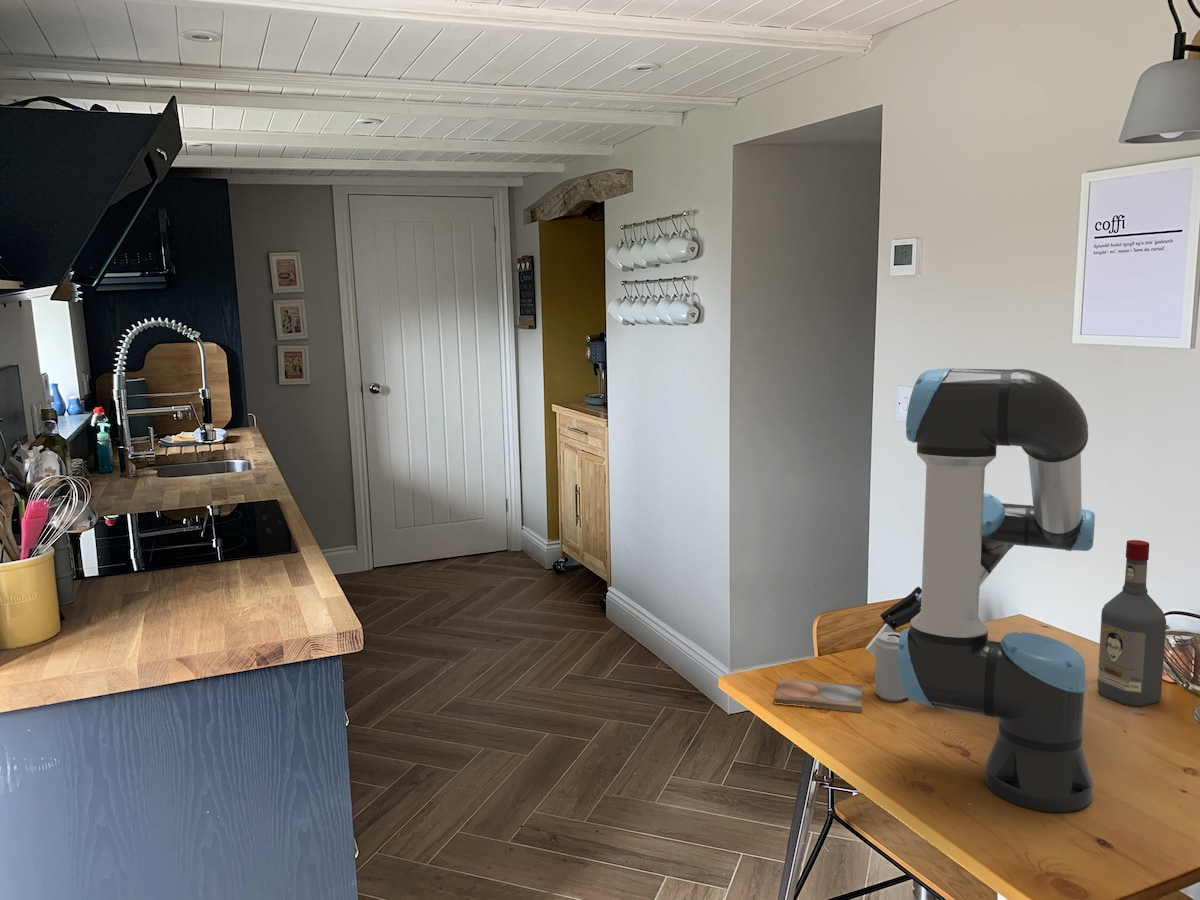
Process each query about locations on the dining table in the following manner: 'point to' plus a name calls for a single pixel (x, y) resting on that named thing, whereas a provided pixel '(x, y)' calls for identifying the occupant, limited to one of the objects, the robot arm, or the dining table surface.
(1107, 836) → the dining table surface
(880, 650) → the beverage can
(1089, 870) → the dining table surface
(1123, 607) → the liquor
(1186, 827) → the dining table surface
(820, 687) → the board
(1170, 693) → the dining table surface
